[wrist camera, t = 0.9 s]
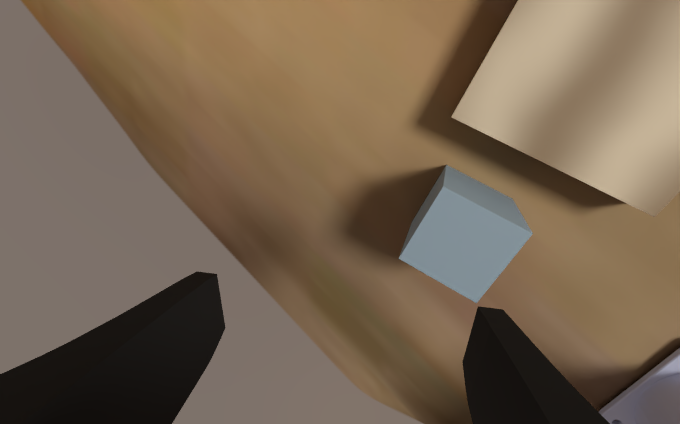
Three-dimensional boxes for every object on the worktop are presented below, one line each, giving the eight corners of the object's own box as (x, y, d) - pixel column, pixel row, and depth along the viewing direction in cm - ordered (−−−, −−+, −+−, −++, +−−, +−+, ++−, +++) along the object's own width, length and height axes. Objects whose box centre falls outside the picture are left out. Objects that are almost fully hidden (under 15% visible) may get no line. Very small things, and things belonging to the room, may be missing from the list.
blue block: (512, 198, 20) (532, 233, 15) (471, 254, 22) (476, 303, 17) (446, 164, 21) (443, 186, 16) (412, 221, 23) (398, 258, 17)
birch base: (830, -15, 14) (903, -37, 12) (630, 203, 18) (654, 217, 16) (578, -106, 15) (599, -142, 13) (451, 115, 20) (451, 117, 18)
